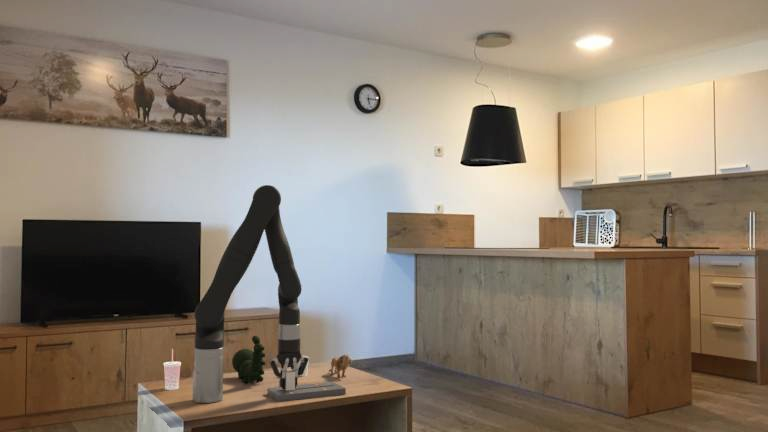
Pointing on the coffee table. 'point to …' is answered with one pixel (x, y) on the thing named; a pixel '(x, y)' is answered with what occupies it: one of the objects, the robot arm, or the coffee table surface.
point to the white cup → (305, 367)
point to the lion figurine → (340, 365)
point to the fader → (290, 380)
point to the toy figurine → (250, 362)
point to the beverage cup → (172, 374)
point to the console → (307, 391)
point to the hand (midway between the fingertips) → (288, 388)
